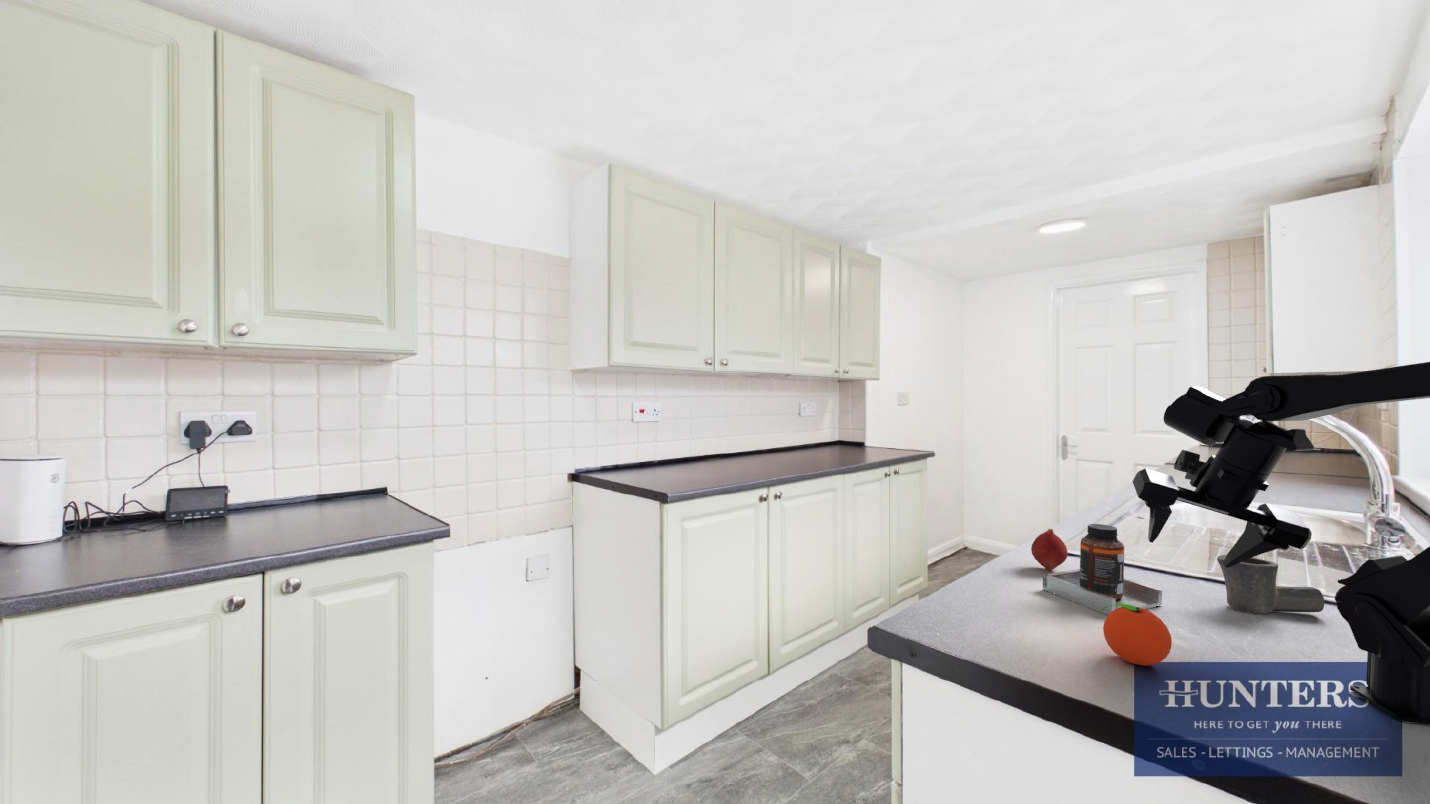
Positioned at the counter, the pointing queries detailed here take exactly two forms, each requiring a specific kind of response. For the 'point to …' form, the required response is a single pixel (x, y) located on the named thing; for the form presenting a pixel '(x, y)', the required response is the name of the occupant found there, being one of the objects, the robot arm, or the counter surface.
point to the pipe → (1266, 589)
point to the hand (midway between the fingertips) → (1186, 553)
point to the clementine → (1137, 635)
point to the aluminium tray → (1071, 590)
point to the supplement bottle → (1102, 561)
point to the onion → (1049, 550)
